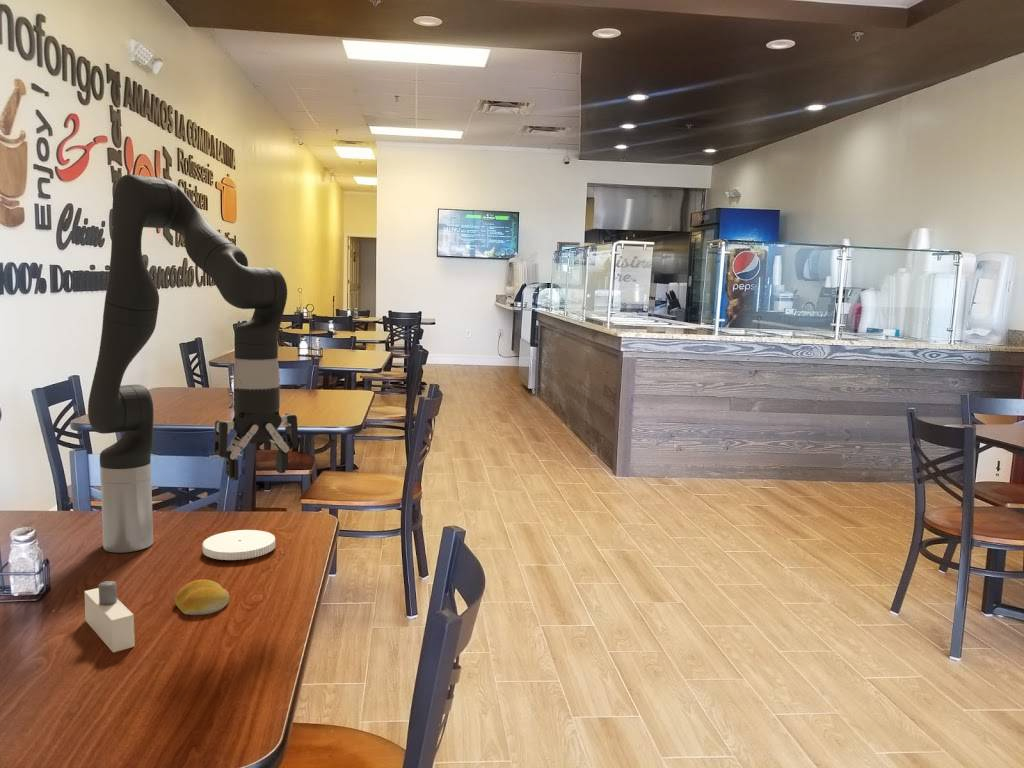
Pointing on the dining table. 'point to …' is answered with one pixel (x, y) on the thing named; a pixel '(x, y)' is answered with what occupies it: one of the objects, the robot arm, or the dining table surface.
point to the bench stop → (109, 617)
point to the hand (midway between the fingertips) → (257, 476)
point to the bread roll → (201, 597)
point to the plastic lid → (238, 544)
